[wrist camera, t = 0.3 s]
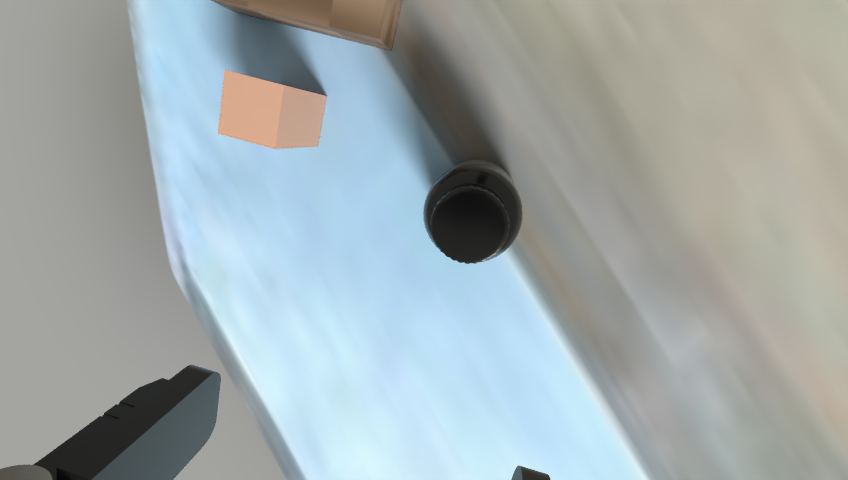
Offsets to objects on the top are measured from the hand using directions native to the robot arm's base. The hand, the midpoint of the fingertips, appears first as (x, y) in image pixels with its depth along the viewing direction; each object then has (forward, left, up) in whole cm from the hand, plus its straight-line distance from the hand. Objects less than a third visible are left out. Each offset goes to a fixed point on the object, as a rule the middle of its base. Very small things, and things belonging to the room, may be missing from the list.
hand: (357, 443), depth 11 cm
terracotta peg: (-6, -15, -28) cm, 32 cm away
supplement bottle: (-3, +2, -28) cm, 28 cm away
